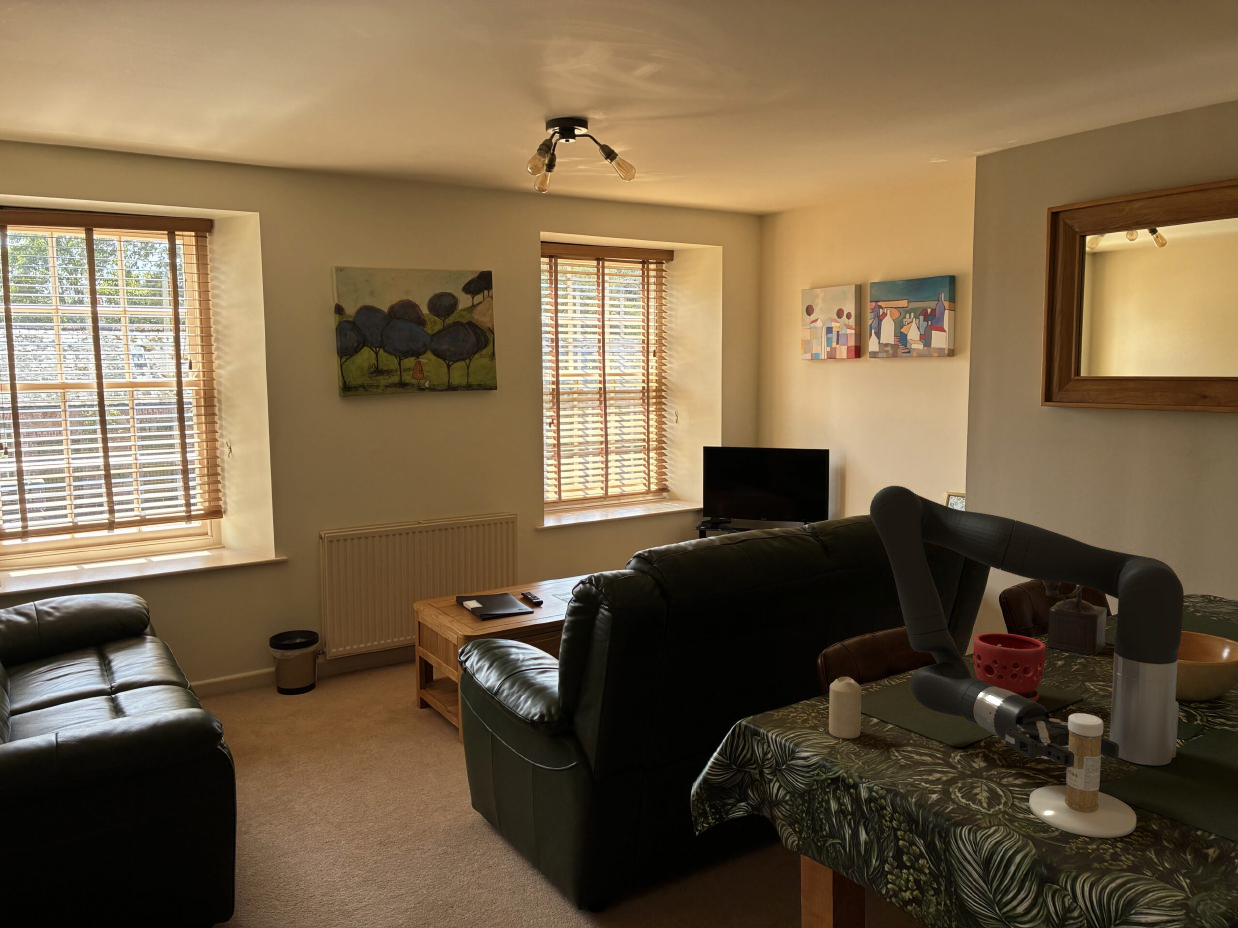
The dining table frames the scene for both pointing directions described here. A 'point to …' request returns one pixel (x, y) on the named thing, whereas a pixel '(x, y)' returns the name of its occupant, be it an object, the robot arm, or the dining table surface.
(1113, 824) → the cream plate
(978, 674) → the plant pot
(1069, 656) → the dining table surface
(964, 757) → the dining table surface
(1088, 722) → the sprinkles bottle
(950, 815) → the dining table surface
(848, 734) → the candle
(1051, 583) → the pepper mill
